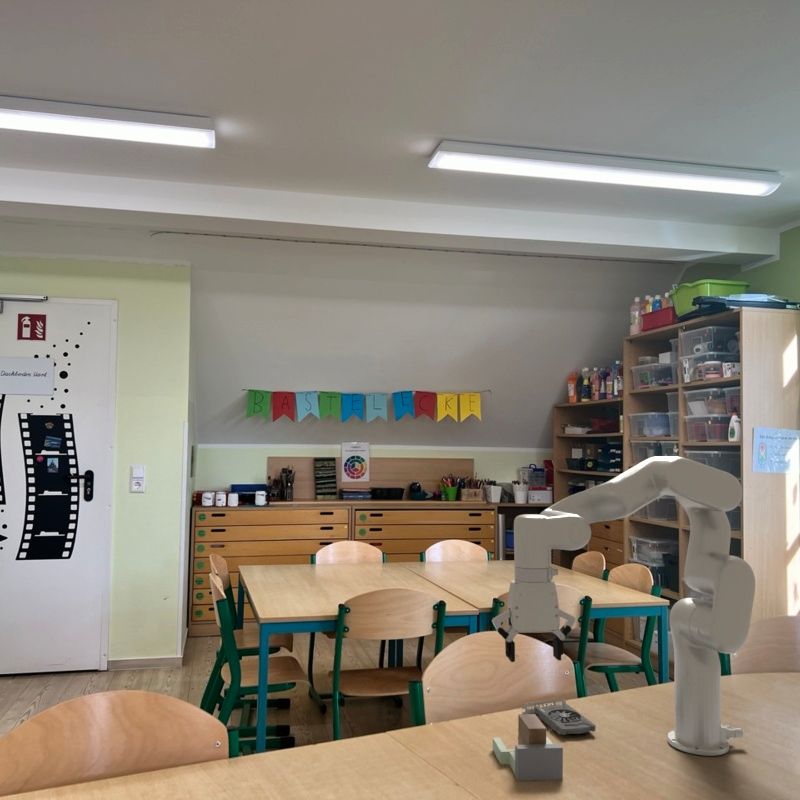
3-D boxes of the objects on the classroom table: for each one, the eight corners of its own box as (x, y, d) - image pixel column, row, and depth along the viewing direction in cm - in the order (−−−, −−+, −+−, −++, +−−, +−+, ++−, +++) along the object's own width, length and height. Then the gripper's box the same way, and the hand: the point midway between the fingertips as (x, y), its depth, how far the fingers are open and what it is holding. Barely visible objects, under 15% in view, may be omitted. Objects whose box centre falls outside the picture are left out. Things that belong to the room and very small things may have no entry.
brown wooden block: (534, 758, 155) (534, 714, 155) (546, 775, 147) (546, 728, 147) (518, 758, 154) (518, 714, 155) (528, 775, 146) (529, 728, 147)
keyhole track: (547, 748, 160) (547, 719, 160) (570, 779, 145) (570, 747, 145) (492, 749, 159) (492, 720, 159) (510, 780, 144) (510, 749, 144)
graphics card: (520, 701, 181) (565, 697, 184) (520, 717, 180) (565, 712, 183) (551, 728, 164) (599, 722, 167) (551, 745, 164) (600, 739, 167)
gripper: (567, 570, 158) (569, 652, 157) (487, 572, 156) (489, 655, 155) (579, 577, 150) (581, 663, 149) (496, 579, 149) (497, 666, 148)
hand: (534, 659), depth 152 cm, fingers open, 9 cm apart
